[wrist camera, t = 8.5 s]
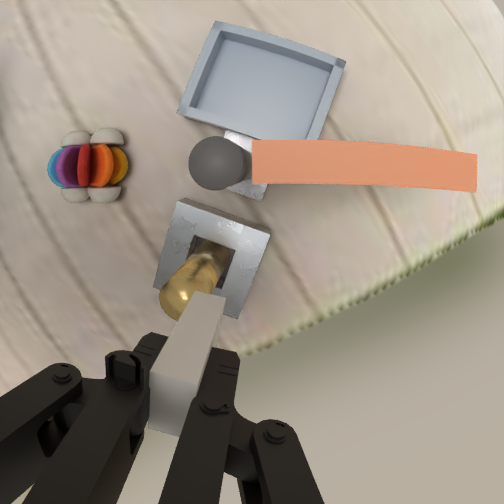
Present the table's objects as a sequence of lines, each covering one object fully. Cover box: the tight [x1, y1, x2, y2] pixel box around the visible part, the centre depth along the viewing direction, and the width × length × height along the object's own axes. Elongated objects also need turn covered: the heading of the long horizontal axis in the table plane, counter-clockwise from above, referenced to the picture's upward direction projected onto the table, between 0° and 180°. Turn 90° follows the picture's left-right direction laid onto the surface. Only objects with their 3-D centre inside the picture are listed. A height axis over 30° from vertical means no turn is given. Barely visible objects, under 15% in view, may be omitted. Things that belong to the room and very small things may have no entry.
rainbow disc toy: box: [48, 128, 128, 203], centre depth 31 cm, size 8×10×7 cm
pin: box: [159, 240, 229, 321], centre depth 30 cm, size 4×4×13 cm
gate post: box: [224, 130, 268, 202], centre depth 26 cm, size 6×6×16 cm
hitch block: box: [153, 198, 271, 319], centre depth 35 cm, size 10×10×3 cm
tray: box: [177, 21, 346, 140], centre depth 30 cm, size 14×11×3 cm
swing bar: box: [189, 136, 477, 192], centre depth 18 cm, size 3×18×3 cm, turn 91°
